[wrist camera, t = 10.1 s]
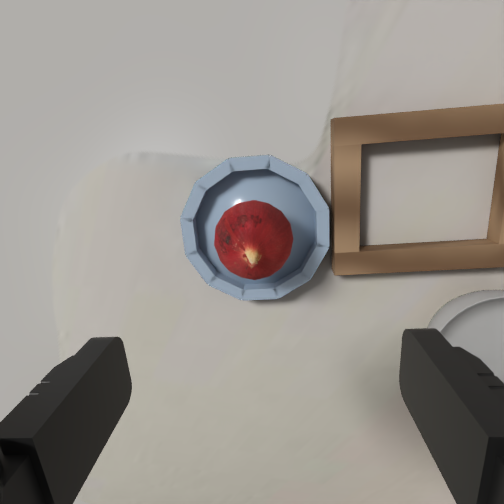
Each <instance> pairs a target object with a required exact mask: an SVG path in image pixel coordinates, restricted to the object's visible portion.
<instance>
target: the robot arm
mask: <svg viewBox="0 0 504 504" xmlns="http://www.w3.org/2000/svg"><path fill="white" fill-rule="evenodd" d="M399 382H400V389H401V394H402V397H403V400H404V402H405V404H406V406H407V408H408V410H409V412H410V414H411V416H412V418H413V420H414V421H415V423H416V425H417V427H418V429H419V431H420V433H421V435H422V437H423V439H424V441H425V443H426V445H427V447H428V449H429V451H430V453H431V455H432V457H433V458H434V460H435V462H436V464H437V466H438V468H439V470H440V472H441V474H442V476H443V478H444V480H445V482H446V484H447V486H448V488H449V490H450V492H451V493H452V495H453V497H454V499H455V501H456V503H457V504H504V383H503V382H502V381H501V380H500V379H499V378H498V377H497V376H494V373H493V372H492V371H491V370H490V368H489V367H488V366H487V365H486V364H485V363H484V362H483V361H482V360H481V359H480V358H478V357H476V356H475V355H473V354H471V353H470V352H468V351H466V350H465V349H463V348H461V347H453V346H452V345H451V344H450V343H449V342H448V341H447V340H446V339H445V337H444V336H443V335H442V334H441V333H440V332H439V331H438V330H437V329H435V328H424V329H405V330H404V332H403V336H402V348H401V361H400V374H399ZM131 390H132V382H131V377H130V372H129V368H128V363H127V358H126V353H125V349H124V344H123V341H122V340H121V338H119V337H96V338H91V339H90V340H89V341H88V342H87V343H86V344H85V345H84V346H83V347H82V348H81V349H80V350H79V351H78V352H77V353H76V354H75V355H74V356H71V357H69V358H68V359H66V360H65V361H63V362H62V363H60V364H59V365H57V366H56V367H54V368H53V369H52V370H51V371H50V372H49V373H48V374H47V375H46V376H45V377H44V378H43V380H41V383H40V384H37V385H36V387H35V388H34V389H33V390H32V391H31V392H30V395H29V396H26V397H25V398H24V399H23V400H22V401H21V402H20V403H19V404H18V405H17V406H16V407H15V408H14V409H13V410H12V411H11V412H10V413H9V414H8V415H7V416H6V417H5V418H4V419H3V420H2V421H1V422H0V504H73V502H74V500H75V499H76V497H77V495H78V493H79V491H80V490H81V488H82V486H83V484H84V482H85V481H86V479H87V477H88V475H89V473H90V472H91V470H92V468H93V466H94V464H95V463H96V461H97V459H98V457H99V455H100V454H101V452H102V450H103V448H104V446H105V445H106V443H107V441H108V439H109V437H110V436H111V434H112V432H113V430H114V428H115V427H116V425H117V423H118V421H119V419H120V418H121V416H122V414H123V412H124V410H125V409H126V407H127V405H128V403H129V400H130V396H131Z"/></svg>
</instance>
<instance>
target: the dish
mask: <svg viewBox="0 0 504 504" xmlns="http://www.w3.org/2000/svg"><path fill="white" fill-rule="evenodd" d="M251 200H257V201H261V202H266V203H269V204H271V205H272V206H274V207H276V208H277V209H279V210H281V211H282V213H283V214H284V215H285V217H286V218H287V219H288V221H289V222H290V224H291V229H292V234H293V244H292V249H291V253H290V256H289V257H288V259H287V261H286V262H285V264H284V265H283V267H282V268H281V269H280V270H278V271H277V272H275V273H274V274H273V275H271V276H269V277H266V278H262V279H258V280H252V279H246V278H241V277H239V276H237V275H235V274H233V273H231V272H230V271H228V269H227V268H226V267H225V266H224V265H223V264H222V262H221V261H220V259H219V257H218V254H217V251H216V249H215V246H214V239H215V228H216V225H217V223H218V222H219V220H220V218H221V217H222V215H223V213H224V212H225V211H226V210H228V209H230V208H231V207H233V206H234V205H236V204H237V203H240V202H246V201H251ZM180 220H181V228H182V235H183V242H184V249H185V255H186V257H187V258H188V259H189V261H190V262H191V263H192V265H193V266H194V267H195V269H196V270H197V271H198V273H199V274H200V275H201V277H202V278H203V279H204V280H205V282H206V283H207V284H209V286H211V287H213V288H215V289H218V290H220V291H222V292H224V293H226V294H228V295H231V296H233V297H235V298H237V299H239V300H241V299H242V300H264V299H278V298H281V297H282V296H284V295H286V294H288V293H289V292H291V291H293V290H294V289H296V288H298V287H299V286H301V285H303V284H305V283H306V282H308V281H310V279H311V278H312V276H313V275H314V273H315V271H316V270H317V268H318V266H319V264H320V263H321V261H322V259H323V258H324V256H325V254H326V252H327V251H328V249H329V207H328V206H327V204H326V203H325V201H324V199H323V198H322V196H321V194H320V193H319V191H318V190H317V188H316V186H315V185H314V183H313V182H312V180H311V178H310V177H309V175H308V174H307V173H306V172H304V171H302V170H300V169H298V168H296V167H294V166H292V165H290V164H288V163H286V162H284V161H282V160H280V159H278V158H276V157H274V156H272V155H271V156H270V155H258V156H247V157H233V158H228V159H226V160H225V161H224V162H222V163H221V164H219V165H218V166H217V167H215V168H214V169H213V170H211V171H210V172H208V173H207V174H206V175H204V176H203V177H201V178H200V179H199V180H197V181H196V182H195V184H194V186H193V189H192V191H191V193H190V196H189V198H188V200H187V203H186V205H185V208H184V210H183V212H182V215H181V219H180Z"/></svg>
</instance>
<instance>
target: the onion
mask: <svg viewBox="0 0 504 504" xmlns="http://www.w3.org/2000/svg"><path fill="white" fill-rule="evenodd" d="M292 244H293V234H292V229H291V224H290V222H289V221H288V219H287V218H286V217H285V215H284V214H283V213H282V211H281V210H279V209H277V208H276V207H274V206H272V205H271V204H269V203H266V202H261V201H257V200H251V201H246V202H240V203H237V204H236V205H234V206H233V207H231V208H230V209H228V210H226V211H225V212H224V213H223V215H222V217H221V218H220V220H219V222H218V223H217V225H216V228H215V239H214V246H215V249H216V251H217V254H218V257H219V259H220V261H221V262H222V264H223V265H224V266H225V267H226V268H227V269H228V271H230V272H231V273H233V274H235V275H237V276H239V277H241V278H246V279H252V280H258V279H262V278H266V277H269V276H271V275H273V274H274V273H275V272H277V271H278V270H280V269H281V268H282V267H283V265H284V264H285V262H286V261H287V259H288V257H289V256H290V253H291V249H292Z"/></svg>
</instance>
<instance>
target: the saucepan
mask: <svg viewBox="0 0 504 504" xmlns="http://www.w3.org/2000/svg"><path fill="white" fill-rule="evenodd" d="M427 328H435V329H437V330H438V331H439V332H440V333H441V334H442V335H443V336H444V337H445V339H446V340H447V341H448V342H449V343H450V344H451V345H452V346H453V347H461V348H463V349H465V350H466V351H468V352H470V353H471V354H473V355H475V356H476V357H478V358H480V359H481V360H482V361H483V362H484V363H485V364H486V365H487V366H488V367H489V368H490V370H491V371H492V372H493V373H494V376H497V377H498V378H499V379H500V380H501V381H502V382H503V383H504V290H482V291H476V292H471V293H468V294H465V295H461V296H459V297H457V298H454V299H452V300H451V301H449V302H448V303H446V304H445V305H443V306H442V307H441V308H440V309H439V310H438V311H437V312H436V314H435V315H434V316H433V318H432V319H431V321H430V323H429V325H428V327H427Z"/></svg>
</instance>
